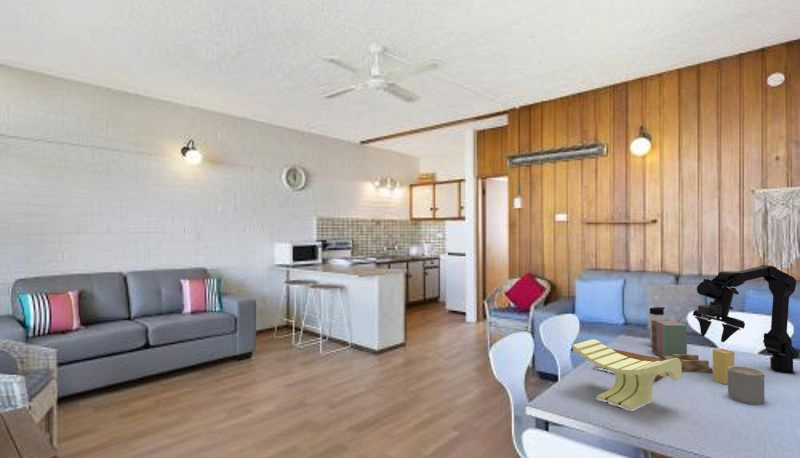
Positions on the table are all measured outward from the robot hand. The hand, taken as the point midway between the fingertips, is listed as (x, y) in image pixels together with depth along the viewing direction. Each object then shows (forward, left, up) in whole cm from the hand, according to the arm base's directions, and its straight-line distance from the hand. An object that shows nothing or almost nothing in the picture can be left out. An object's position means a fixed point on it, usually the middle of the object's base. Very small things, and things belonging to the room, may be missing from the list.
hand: (712, 339), depth 172 cm
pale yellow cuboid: (-3, +5, -15) cm, 16 cm away
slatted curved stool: (+27, +43, -15) cm, 53 cm away
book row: (+15, -22, -14) cm, 30 cm away
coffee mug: (-9, +19, -15) cm, 26 cm away
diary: (+28, +8, -16) cm, 33 cm away
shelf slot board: (+11, -15, -15) cm, 24 cm away
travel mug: (+21, -37, -15) cm, 45 cm away
